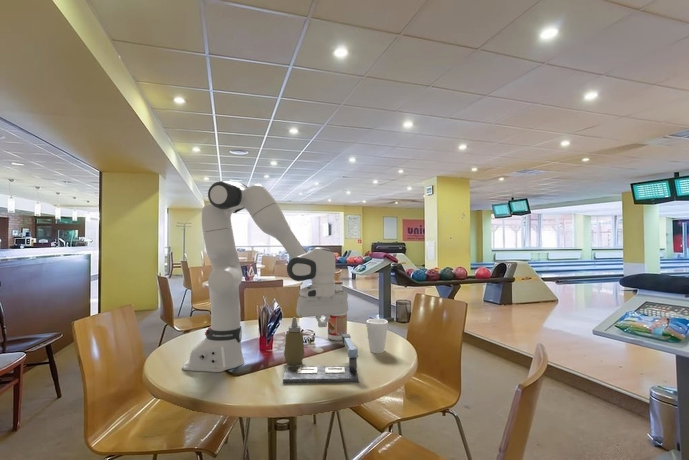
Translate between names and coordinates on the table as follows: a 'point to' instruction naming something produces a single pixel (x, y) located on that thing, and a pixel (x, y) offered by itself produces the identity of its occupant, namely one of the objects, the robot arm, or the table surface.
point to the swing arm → (349, 346)
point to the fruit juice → (337, 321)
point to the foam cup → (377, 334)
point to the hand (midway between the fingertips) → (322, 326)
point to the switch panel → (322, 374)
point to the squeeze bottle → (294, 344)
